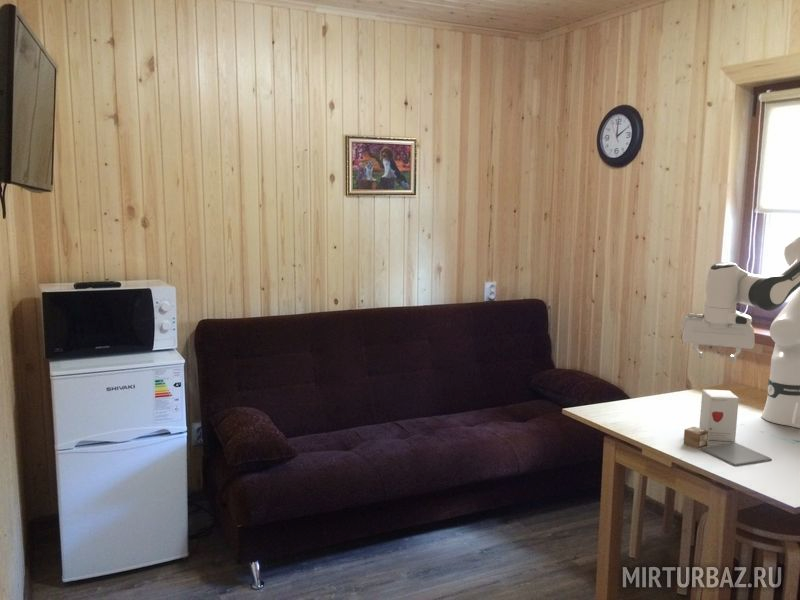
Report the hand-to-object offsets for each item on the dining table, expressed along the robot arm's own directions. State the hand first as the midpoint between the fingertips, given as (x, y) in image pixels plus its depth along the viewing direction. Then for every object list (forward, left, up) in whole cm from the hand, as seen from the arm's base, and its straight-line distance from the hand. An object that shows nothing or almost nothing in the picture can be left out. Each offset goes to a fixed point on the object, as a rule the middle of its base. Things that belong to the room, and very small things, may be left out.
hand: (716, 359), depth 203 cm
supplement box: (-9, -11, -29) cm, 33 cm away
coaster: (-6, +5, -29) cm, 30 cm away
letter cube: (+3, -4, -29) cm, 30 cm away
